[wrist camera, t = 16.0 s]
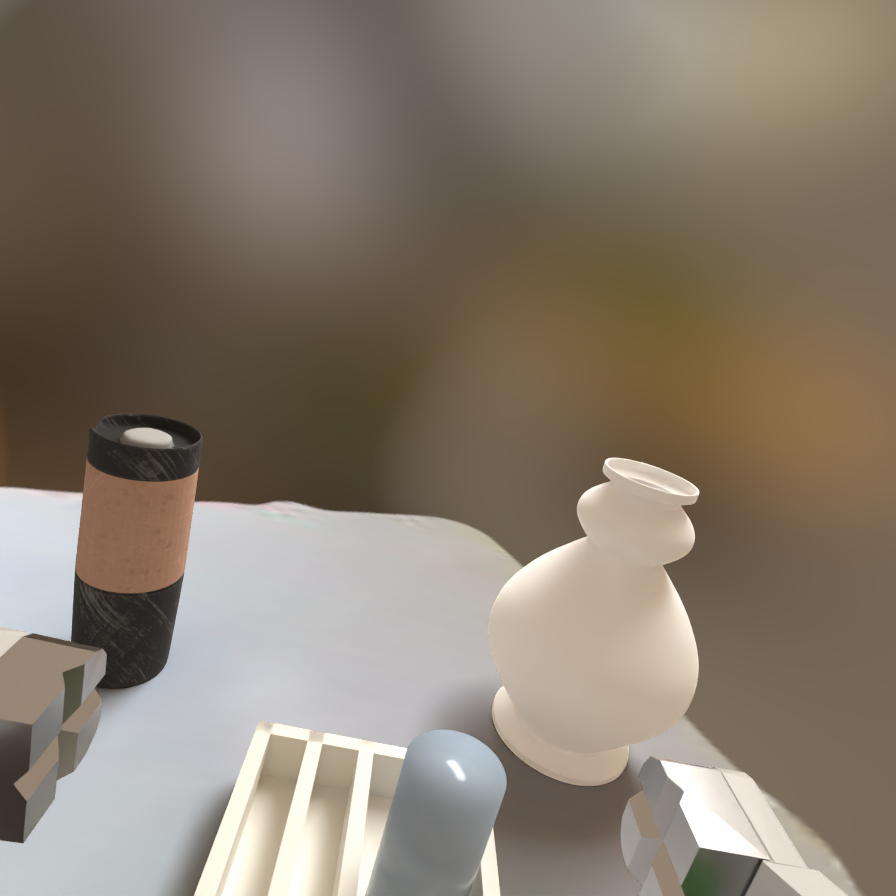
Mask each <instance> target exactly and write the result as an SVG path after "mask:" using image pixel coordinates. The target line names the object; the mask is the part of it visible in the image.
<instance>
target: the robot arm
mask: <svg viewBox="0 0 896 896" xmlns="http://www.w3.org/2000/svg"><path fill="white" fill-rule="evenodd" d="M106 659H107V654H106V653H105V651H104V650H103V649H102V648H97V647H93V646H88V645H84V644H79V643H74V642H70V641H65V640H61V639H56V638H52V637H47V636H43V635H38V634H33V633H32V634H29V633H27V632H22V631H17V630H13V629H8V628H3V627H0V840H2V841H10V842H17V843H24V841H25V840H26V838H27V837H28V836H29V834H30V833H31V831H32V830H33V829H34V827H35V826H36V824H37V823H38V822H39V820H40V819H41V817H42V816H43V814H44V813H45V812H46V810H47V809H48V807H49V806H50V805H51V803H52V802H53V800H54V799H55V790H56V781H57V780H58V779H60V778H62V777H64V776H66V775H68V774H70V773H72V772H74V770H75V769H76V767H77V766H78V764H79V763H80V761H81V760H82V758H83V757H84V756H85V754H86V752H87V750H88V748H89V745H90V743H91V741H92V739H93V737H94V735H95V733H96V729H97V725H98V722H99V718H100V714H101V707H102V699H101V697H100V696H99V694H98V693H97V691H96V690H95V687H96V685H97V684H98V683H99V682H100V680H101V679H102V678H103V676H104V675H105V672H106ZM638 778H639V780H640V783H641V786H642V789H643V790H642V791H640V792H639V793H637V794H636V795H634V796H633V797H631V798H630V799H629V800H628V802H627V805H626V808H625V810H624V813H623V816H622V822H621V834H620V839H621V847H622V854H623V857H624V861H625V864H626V867H627V870H628V871H629V872H630V873H631V874H632V876H633V877H634V878H635V879H636V880H637V881H638V882H639V883H640V885H641V886H642V888H641V890H640V893H639V895H638V896H848V895H847V894H845V893H844V892H843V891H842V890H841V889H840V888H838V887H837V886H836V885H835V884H834V883H832V882H831V881H830V880H829V879H828V878H826V877H825V876H824V875H823V874H822V873H820V872H819V871H818V870H813V869H808V868H807V866H806V865H805V863H804V861H803V860H802V858H801V856H800V855H799V853H798V852H797V850H796V848H795V847H794V845H793V844H792V842H791V840H790V839H789V837H788V835H787V834H786V832H785V831H784V829H783V827H782V826H781V824H780V822H779V821H778V819H777V818H776V816H775V814H774V813H773V811H772V810H771V808H770V806H769V805H768V803H767V801H766V800H765V798H764V797H763V795H762V793H761V792H760V790H759V789H758V787H757V785H756V784H755V782H754V780H753V779H752V778H750V777H749V776H748V775H747V774H745V773H744V772H738V771H732V770H726V769H720V768H715V767H713V768H709V767H704V766H699V765H693V764H688V763H683V762H678V761H672V760H667V759H662V758H656V757H650V758H649V759H648V760H647V761H646V762H645V763H644V764H643V766H642V769H641V771H640V773H639V776H638Z"/></svg>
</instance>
